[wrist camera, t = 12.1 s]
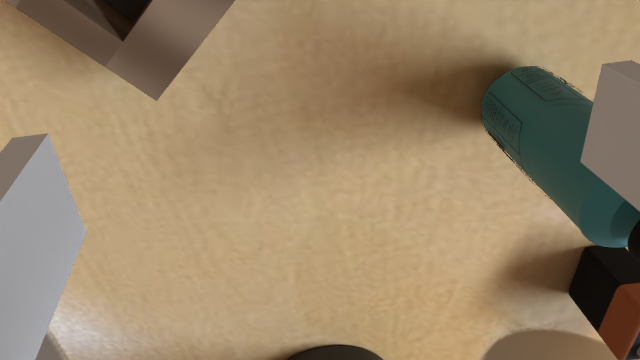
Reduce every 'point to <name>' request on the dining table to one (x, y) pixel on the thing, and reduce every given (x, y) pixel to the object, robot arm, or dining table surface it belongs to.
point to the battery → (610, 297)
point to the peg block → (131, 33)
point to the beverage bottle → (558, 152)
